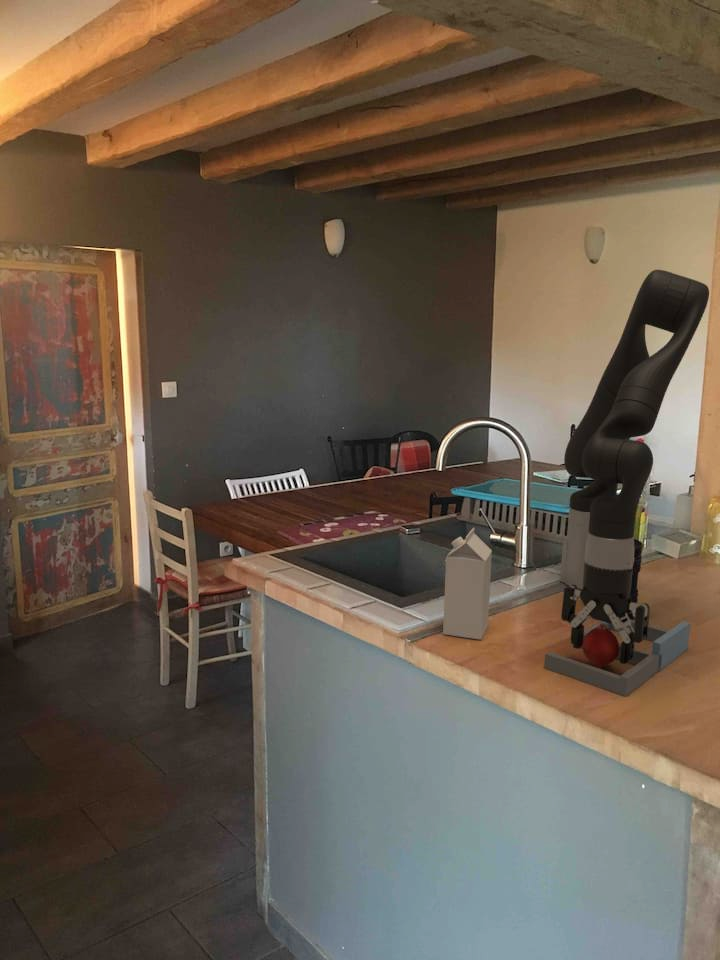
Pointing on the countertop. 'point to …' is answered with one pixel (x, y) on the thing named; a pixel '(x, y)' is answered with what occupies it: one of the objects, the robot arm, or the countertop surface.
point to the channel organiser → (646, 663)
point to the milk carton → (467, 588)
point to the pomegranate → (600, 646)
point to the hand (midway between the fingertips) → (600, 654)
